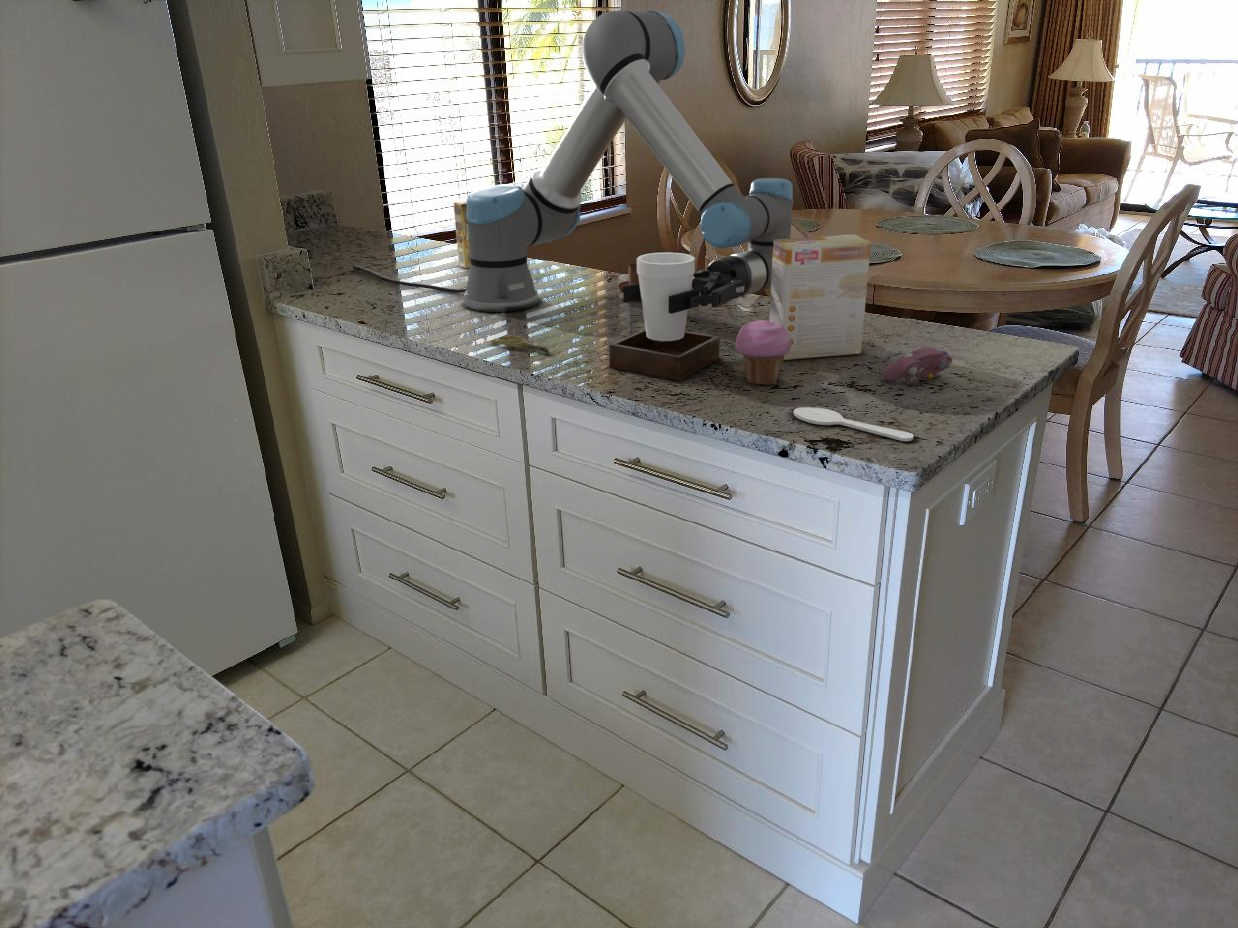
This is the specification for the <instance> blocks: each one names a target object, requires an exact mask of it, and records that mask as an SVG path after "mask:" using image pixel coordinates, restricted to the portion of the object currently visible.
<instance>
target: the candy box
mask: <svg viewBox="0 0 1238 928" xmlns="http://www.w3.org/2000/svg"><path fill="white" fill-rule="evenodd" d="M453 212H454V223H455V236H456V247H457V258H458V266H459V267H461V268H463V269H469V268H471V260H470V248H469V236H468V225H467V218H466V213H467V200H466V201H456V202H453Z"/></svg>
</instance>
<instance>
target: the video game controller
mask: <svg viewBox="0 0 1238 928" xmlns="http://www.w3.org/2000/svg"><path fill="white" fill-rule="evenodd" d="M952 362H953V358H952V356H950V355H949V353H948V352H947V351H946V350H943V349H942V347H941V346H940V347H938V348H934V347H920V348H918V349H915V350H914V351H909V352H906V353H905V354H903V355H901V356H900V357H899V358H898V359H897V360H895V361H894V362H893V363H892V364H890V365H888V366H886V367H885V369H884V370H883V374H882V376H883V377H882V378H883V379H884V381H886V382H895V381H898V380H900V379H904V380H905V382H906V383H907V384H908V385H911V384H914V383H916V382H917V381H918V380H919V378H920V377H921V379H922V380H923V381H925V382H928V381H931V380H932V379H933V378H934V377H935V376H936V375H938V374H939V373H941V372H943V371H945V370H946V369H947V368H949V367H950V365H951V364H952Z"/></svg>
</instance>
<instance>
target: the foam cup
mask: <svg viewBox="0 0 1238 928" xmlns="http://www.w3.org/2000/svg"><path fill="white" fill-rule="evenodd" d="M636 263H637V274H638V277H639V284H640V292H641V299H640V300H641V306H642V314H643V320H644V329H646V333H647V337H648V338H649V339H652V340H657V341H674V340H679V339H681V338H683V337H684V332H685V331H686V327H687V320H688V313H689V309H687V310H683V311H680V312H676V313H673V314H671V313H669V296H672V295H675V294H679V293H683V292H686V291H690V290H691V289H692V279H693V274H694V273H695V272H696V257H694V256H693V255H692V254H688V253H683V252H670V251H668V252H652V253H646V254H645V253H644V254H642V255H638V257H637V258H636Z"/></svg>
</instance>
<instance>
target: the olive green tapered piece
mask: <svg viewBox="0 0 1238 928" xmlns="http://www.w3.org/2000/svg"><path fill="white" fill-rule="evenodd" d="M490 342H491V343H492V345H503V346H506V347H510V348H516V347H517V348H522V349H527V350H533V351H538V352H542V353H546V354H547V355H548V356H550V350H549V349H548V348H547V347H545V346H540V345H537V344H534V343H531V342H530V341H528V340H527V339H526V338H524V337H521V336H518V335H514V334H510V335H509V334H506V335H504V336H499V339H496V338H495V337H494V338H493V339H491V340H490Z"/></svg>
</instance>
